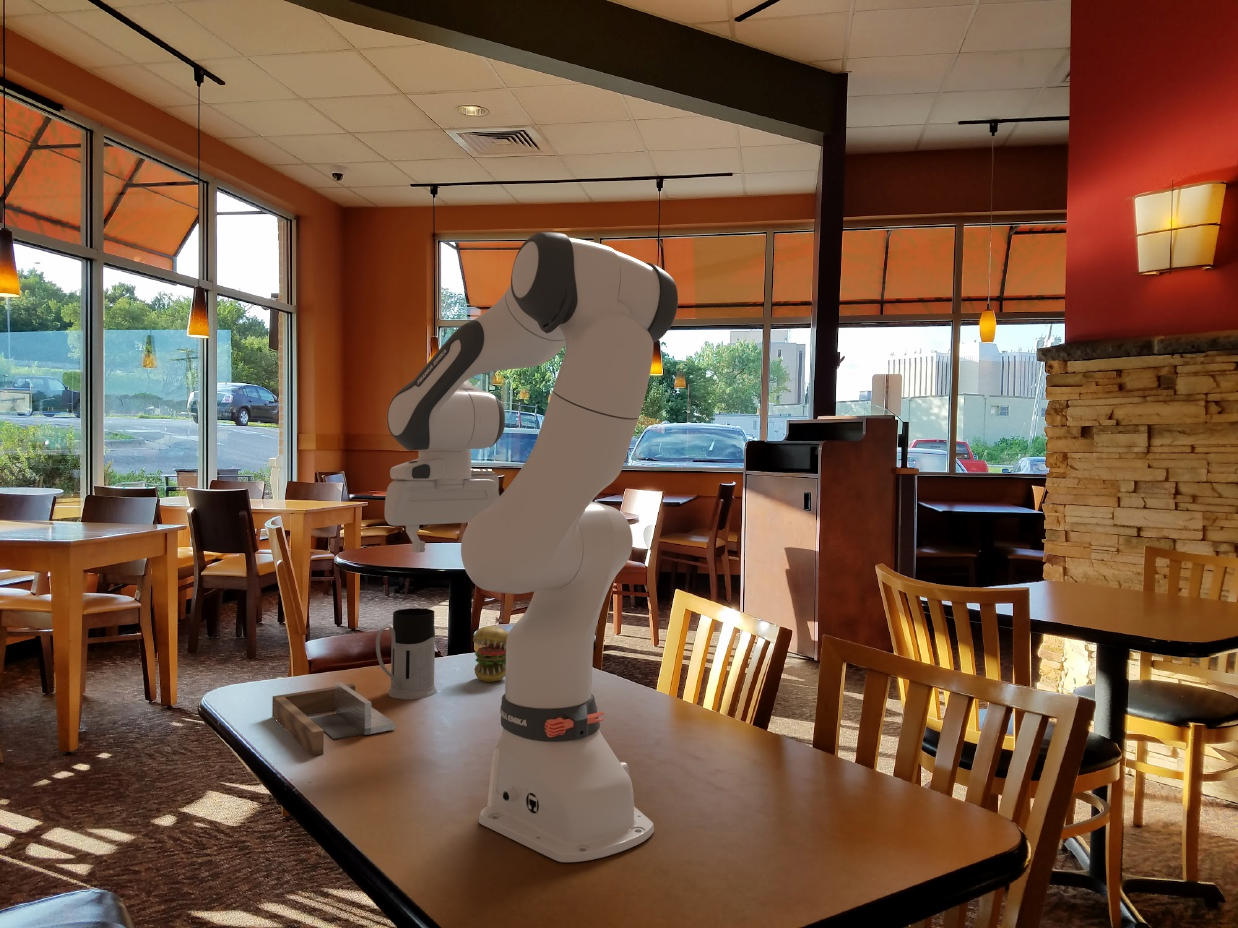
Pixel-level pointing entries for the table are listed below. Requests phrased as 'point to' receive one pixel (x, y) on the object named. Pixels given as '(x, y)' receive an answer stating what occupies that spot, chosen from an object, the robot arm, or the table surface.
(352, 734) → the brown wooden l-shaped piece
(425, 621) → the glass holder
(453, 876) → the table surface
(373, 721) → the angle bracket
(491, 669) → the hamburger
